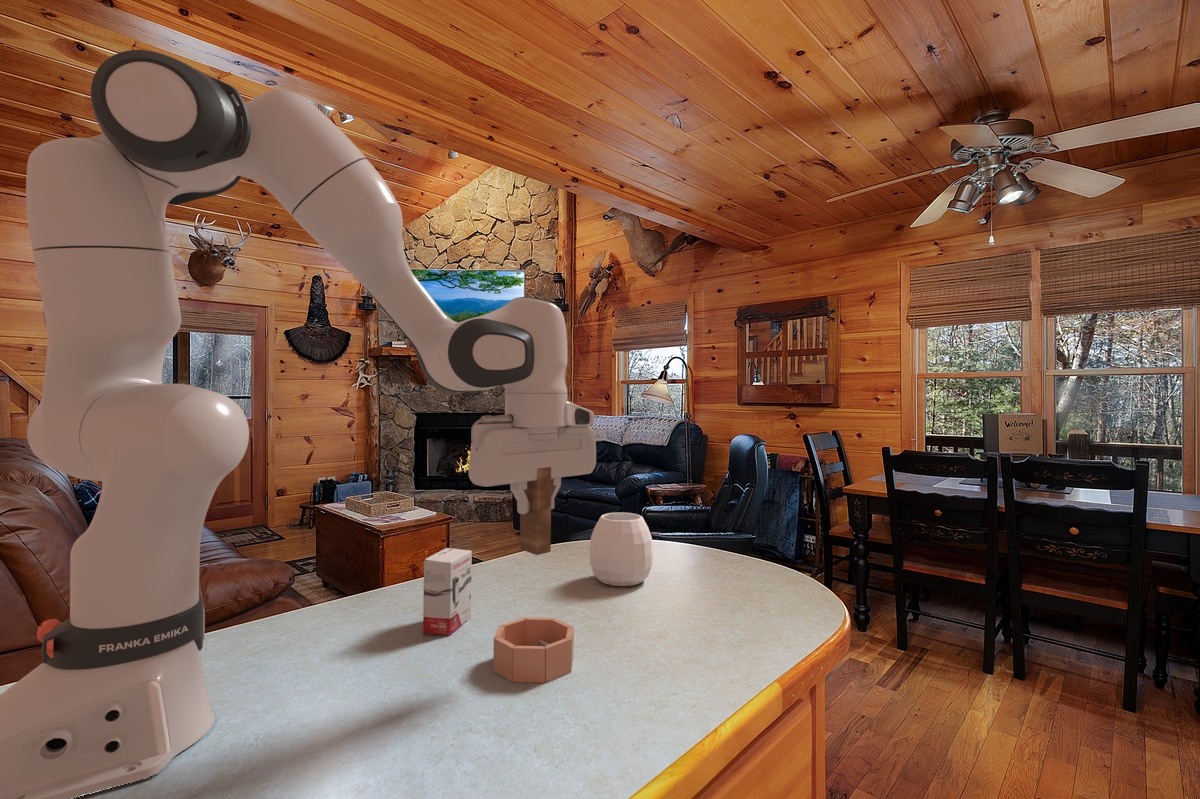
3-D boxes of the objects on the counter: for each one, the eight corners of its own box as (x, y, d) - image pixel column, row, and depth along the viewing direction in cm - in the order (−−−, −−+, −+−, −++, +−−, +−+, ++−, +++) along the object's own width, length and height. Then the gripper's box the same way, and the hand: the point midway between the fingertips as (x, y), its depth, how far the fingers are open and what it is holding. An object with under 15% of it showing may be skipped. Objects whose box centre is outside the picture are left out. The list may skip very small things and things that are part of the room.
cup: (655, 592, 113) (655, 523, 113) (588, 591, 113) (588, 522, 113) (650, 571, 126) (650, 510, 126) (590, 571, 127) (590, 510, 127)
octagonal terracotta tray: (526, 690, 74) (526, 655, 74) (481, 662, 82) (481, 631, 82) (588, 664, 82) (588, 633, 82) (541, 641, 90) (541, 612, 90)
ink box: (450, 636, 91) (450, 562, 91) (421, 634, 92) (422, 560, 92) (472, 616, 100) (473, 548, 100) (446, 614, 101) (447, 546, 101)
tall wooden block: (537, 555, 80) (537, 468, 80) (520, 549, 83) (520, 465, 83) (550, 551, 82) (551, 467, 81) (533, 546, 84) (534, 464, 84)
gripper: (485, 416, 72) (485, 526, 73) (602, 413, 87) (602, 505, 87) (459, 415, 77) (459, 518, 77) (575, 412, 91) (574, 499, 91)
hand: (536, 511), depth 82 cm, fingers closed on tall wooden block, 2 cm apart
